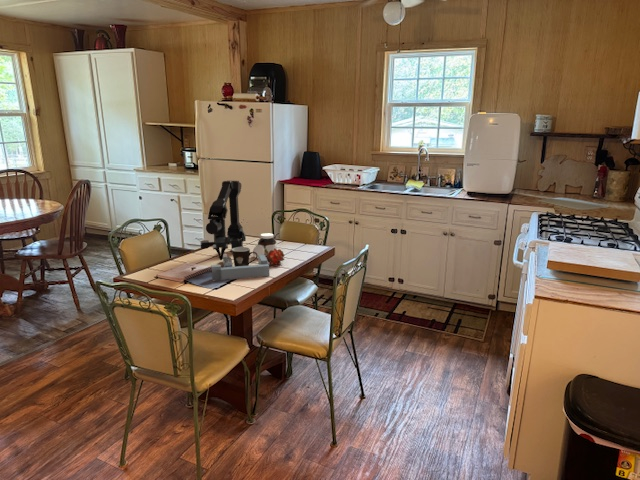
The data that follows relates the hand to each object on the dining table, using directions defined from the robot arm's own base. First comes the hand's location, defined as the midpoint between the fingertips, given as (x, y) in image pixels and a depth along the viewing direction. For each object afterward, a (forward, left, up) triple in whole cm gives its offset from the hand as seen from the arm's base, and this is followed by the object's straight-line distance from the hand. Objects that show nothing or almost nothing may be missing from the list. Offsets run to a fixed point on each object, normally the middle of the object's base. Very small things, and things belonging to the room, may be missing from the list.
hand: (221, 260), depth 224 cm
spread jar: (-23, +11, -3) cm, 26 cm away
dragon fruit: (-13, +23, -3) cm, 27 cm away
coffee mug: (0, +14, -3) cm, 14 cm away
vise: (+7, +15, -3) cm, 17 cm away
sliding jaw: (+2, +5, -3) cm, 6 cm away
